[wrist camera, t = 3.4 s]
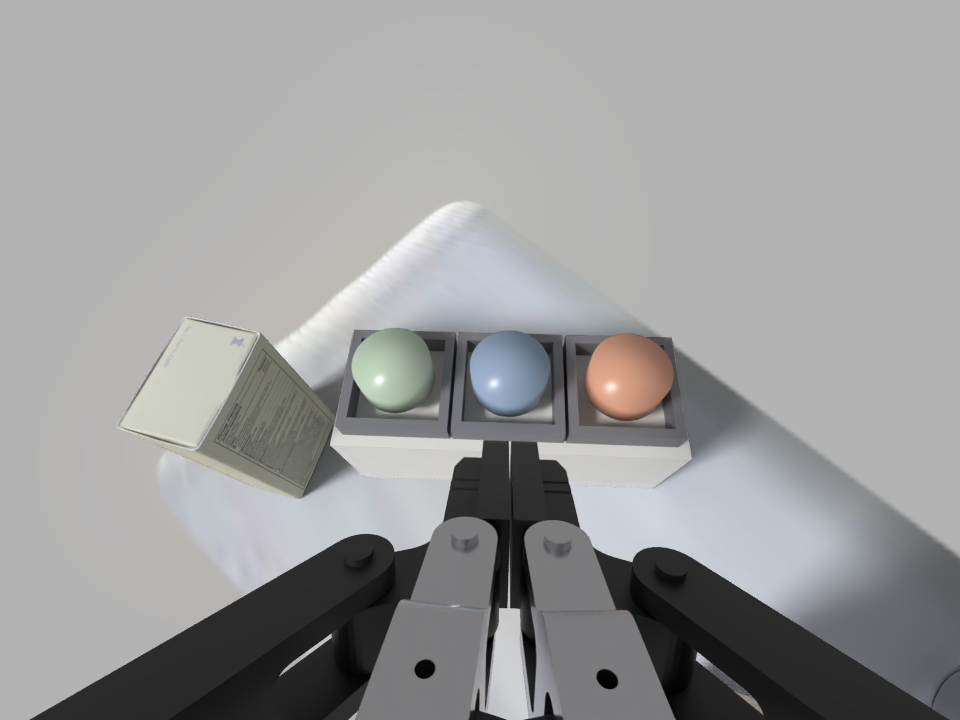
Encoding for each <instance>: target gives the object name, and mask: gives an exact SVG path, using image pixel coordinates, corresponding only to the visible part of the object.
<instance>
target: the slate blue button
mask: <svg viewBox="0 0 960 720" xmlns="http://www.w3.org/2000/svg"><path fill="white" fill-rule="evenodd" d="M549 373H550V361H549V357H548V355H547V352H546V351H545V349H544V347H543V346H542V345H541V344H540V343H539V342H538V341H537V340H536V339H534V338H533V337H531V336H529V335H527V334H525V333H522V332H517V331H502V332H497V333H494V334H492V335H490V336H488V337H486V338H485V339H483V340H482V341H481V342H480V343H479V344H478V345H477V346H476V348H475V349H474V351H473V353H472V356H471V359H470V374H471V382H472V389H473V393H474V395H475V397H476V399H477V401H478V402H479V403H480V405H481V406H482V407H484V408H485V409H486V410H488V411H489V412H491V413H493V414H495V415H498V416H503V417H516V416H521V415H524V414H526V413H528V412H530V411H532V410H533V409H534V408H535V407H536V406H537V405H538V404H539V403H540V402H541V400H542V398H543V397H544V394H545V391H546V386H547V382H548V377H549Z"/></svg>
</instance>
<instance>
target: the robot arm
mask: <svg viewBox="0 0 960 720" xmlns="http://www.w3.org/2000/svg"><path fill="white" fill-rule="evenodd" d="M509 547H510V608H516V609H520V619H521V622H520V649H521V657H522V666H523V674H524V682H525V691H526V699H527V708H528V716H529V719H525V720H960V671H958V672H956V673H954V674H953V675H952V676H951V677H950V678H949V679H948V680H947V681H946V682H945V683H944V684H943V685H942V686H941V688H940V690H939V692H938V694H937V696H936V698H935V700H934V703H933V708H932V709H931V708H930V707H928V706H927V705H925V704H923V703H922V702H920V701H919V700H917V699H915V698H914V697H912V696H911V695H909V694H908V693H906V692H904V691H903V690H901V689H900V688H898V687H896V686H895V685H893V684H892V683H890V682H888V681H887V680H885V679H884V678H882V677H880V676H879V675H877V674H876V673H874V672H872V671H871V670H869V669H868V668H866V667H865V666H863V665H861V664H860V663H858V662H857V661H855V660H853V659H852V658H850V657H849V656H847V655H845V654H844V653H842V652H841V651H839V650H837V649H836V648H834V647H833V646H831V645H829V644H828V643H826V642H825V641H823V640H822V639H820V638H818V637H817V636H815V635H814V634H812V633H810V632H809V631H807V630H806V629H804V628H802V627H801V626H799V625H798V624H796V623H794V622H793V621H791V620H790V619H788V618H786V617H785V616H783V615H782V614H780V613H779V612H777V611H775V610H774V609H772V608H771V607H769V606H767V605H766V604H764V603H763V602H761V601H759V600H758V599H756V598H755V597H753V596H751V595H750V594H748V593H747V592H745V591H743V590H742V589H740V588H739V587H737V586H736V585H734V584H732V583H731V582H729V581H728V580H726V579H724V578H723V577H721V576H720V575H718V574H716V573H715V572H713V571H712V570H710V569H708V568H707V567H705V566H704V565H702V564H700V563H699V562H697V561H696V560H694V559H693V558H691V557H689V556H687V555H686V554H683V553H681V552H679V551H676V550H673V549H668V548H662V547H652V548H647V549H643V550H641V551H640V552H638V553H637V554H636V555H635V557H634V559H633V562H629V561H625V560H622V559H618V558H615V557H612V556H609V555H606V554H604V553H602V552H600V551H598V550H596V549H595V548H594V547H593V546H592V544H591V541H590V539H589V537H588V536H587V534H586V533H585V532H584V531H583V530H581V529H580V526H579V522H578V518H577V513H576V509H575V505H574V501H573V497H572V494H571V488H570V484H569V480H568V476H567V471H566V470H565V469H564V468H563V467H562V466H561V464H560V463H559V462H558V461H557V460H540V459H539V452H538V444H537V442H530V441H511V455H510V473H509V441H496V440H483V449H482V458H478V457H463V458H462V459H461V460H460V461H459V462H458V463H457V464H456V465H455V466H454V471H453V476H452V481H451V486H450V491H449V496H448V501H447V506H446V511H445V516H444V521H443V523H441V524H440V525H439V526H438V527H437V528H436V529H435V530H434V532H433V535H432V538H431V540H430V541H429V542H428V543H426V544H424V545H422V546H419V547H416V548H412V549H407V550H402V551H397V552H394V548H393V545H392V544H391V543H390V542H389V541H388V540H387V539H385V538H383V537H381V536H378V535H373V534H360V535H355V536H351V537H348V538H345V539H343V540H341V541H339V542H337V543H336V544H334V545H332V546H330V547H329V548H327V549H325V550H323V551H322V552H320V553H318V554H317V555H315V556H313V557H311V558H310V559H308V560H306V561H304V562H303V563H301V564H299V565H297V566H296V567H294V568H292V569H290V570H289V571H287V572H285V573H284V574H282V575H280V576H278V577H277V578H275V579H273V580H271V581H270V582H268V583H266V584H264V585H263V586H261V587H259V588H258V589H256V590H254V591H252V592H251V593H249V594H247V595H245V596H244V597H242V598H240V599H238V600H237V601H235V602H233V603H232V604H230V605H228V606H226V607H225V608H223V609H221V610H219V611H218V612H216V613H214V614H212V615H211V616H209V617H208V618H205V619H204V620H202V621H200V622H199V623H197V624H195V625H194V626H192V627H190V628H188V629H186V630H185V631H183V632H181V633H180V634H178V635H176V636H174V637H173V638H171V639H169V640H167V641H166V642H164V643H162V644H160V645H159V646H157V647H155V648H154V649H152V650H150V651H148V652H147V653H145V654H143V655H141V656H140V657H138V658H136V659H134V660H133V661H131V662H129V663H128V664H126V665H124V666H122V667H121V668H119V669H117V670H115V671H114V672H112V673H110V674H109V675H107V676H105V677H103V678H102V679H100V680H98V681H96V682H94V683H93V684H91V685H89V686H87V687H86V688H84V689H82V690H81V691H79V692H77V693H76V694H74V695H72V696H70V697H68V698H67V699H65V700H63V701H61V702H60V703H58V704H56V705H55V706H53V707H51V708H49V709H48V710H46V711H44V712H42V713H41V714H39V715H37V716H35V717H34V718H32V719H30V720H348V719H349V718H350V717H351V716H353V715H354V714H355V713H356V712H357V711H358V713H357V716H356V718H355V720H506V719H503V718H500V717H497V716H494V715H491V714H488V713H487V711H488V702H489V693H490V684H491V675H492V666H493V656H494V647H495V632H496V630H497V627H498V623H499V608H507V603H508V573H509ZM331 633H332V638H331V639H329V640H328V641H327V642H325V643H324V644H323V645H321V646H320V647H319V648H317V649H316V650H314V651H313V652H312V653H310V654H309V655H308V656H306V657H305V658H304V659H302V660H301V661H300V662H298V663H297V664H296V665H294V666H293V667H291V668H290V669H289V670H287V671H286V672H285V673H283V674H282V675H281V676H279V675H280V674H281V673H282V671H283V670H284V669H285V668H286V667H287V666H288V665H289V664H290V663H292V662H293V661H294V660H296V659H297V658H298V657H300V656H301V655H302V654H304V653H305V652H307V651H308V650H309V649H311V648H312V647H313V646H315V645H316V644H317V643H319V642H320V641H322V640H323V639H324V638H326V637H327V636H328V635H330V634H331ZM697 652H698V653H700V654H701V655H702V656H703V657H705V658H706V659H707V660H708V661H710V662H711V663H712V664H714V665H715V666H716V667H717V668H719V669H720V670H721V671H722V672H724V673H725V674H726V675H727V676H729V677H730V678H731V679H733V680H734V681H735V682H736V683H738V684H739V685H740V686H741V687H743V688H744V689H745V690H746V691H747V692H749V693H750V694H751V696H752V697H753V698H754V699H755V700H756V702H757V703H758V705H759V706H760V708H761V710H762V712H763V714H762V713H760V712H759V711H758V710H757V709H755V708H754V707H753V706H752V705H750V704H749V703H748V702H747V701H745V700H744V699H743V698H742V697H741V696H739V695H738V694H737V693H736V692H734V691H733V690H732V689H731V688H729V687H728V686H727V685H726V684H724V683H723V682H722V681H721V680H719V679H718V678H717V677H716V676H714V675H713V674H712V673H711V672H710V671H708V670H707V669H706V668H705V667H703V666H702V665H701V664H700V663H698V662H697V661H696V656H697Z"/></svg>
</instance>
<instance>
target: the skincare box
mask: <svg viewBox="0 0 960 720" xmlns="http://www.w3.org/2000/svg"><path fill="white" fill-rule="evenodd" d="M335 418H336V416H335V415H334V413H333V412H332V411H331V410H330V409H329V408H328V407H327V406H326V405H325V403H324V402H323V401H322V400H321V399H320V398H319V397H318V396H317V395H316V394H315V392H314V391H313V390H312V389H311V388H310V387H309V386H308V385H307V384H306V382H305V381H304V380H303V379H302V378H301V377H300V376H299V375H298V374H297V372H296V371H295V370H294V369H293V368H292V367H291V366H290V365H289V364H288V363H287V361H286V360H285V359H284V358H283V357H282V356H281V355H280V354H279V353H278V352H277V350H276V349H275V348H274V347H273V346H272V345H271V344H270V343H269V341H268V340H267V339H266V338H265V337H264V336H263V335H262V334H261V333H260V332H256V331H252V330H248V329H244V328H240V327H236V326H232V325H227V324H223V323H218V322H215V321H209V320H204V319H199V318H193V317H185V318H184V319H183V320H182V322H181V323H180V325H179V326H178V327H177V329H176V330H175V332H174V333H173V335H172V336H171V338H170V339H169V341H168V343H167V344H166V346H165V347H164V349H163V351H162V352H161V353H160V355H159V356H158V358H157V360H156V361H155V363H154V364H153V366H152V368H151V369H150V371H149V373H148V374H147V375H146V377H145V379H144V380H143V382H142V384H141V386H140V387H139V388H138V390H137V392H136V393H135V395H134V397H133V399H132V400H131V402H130V403H129V405H128V406H127V408H126V410H125V411H124V413H123V415H122V416H121V418H120V420H119V421H118V423H117V425H116V426H117V428H118V429H120V430H122V431H125V432H128V433H130V434H132V435H134V436H137V437H139V438H142V439H144V440H146V441H148V442H151V443H153V444H155V445H158V446H160V447H162V448H164V449H167V450H169V451H171V452H174V453H176V454H179V455H181V456H183V457H185V458H188V459H190V460H193V461H195V462H197V463H200V464H202V465H204V466H206V467H209V468H211V469H213V470H216V471H218V472H220V473H222V474H225V475H227V476H229V477H231V478H234V479H236V480H238V481H241V482H243V483H245V484H248V485H251V486H255V487H258V488H261V489H264V490H267V491H271V492H274V493H278V494H281V495H284V496H288V497H292V498H295V499H300V498H301V497H302V496H303V493H304V491H305V489H306V487H307V484H308V482H309V480H310V478H311V476H312V473H313V471H314V469H315V467H316V464H317V462H318V459H319V457H320V455H321V452H322V450H323V448H324V446H325V443H326V441H327V439H328V436H329V434H330V431H331V429H332V426H333V424H334V421H335Z"/></svg>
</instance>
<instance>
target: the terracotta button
mask: <svg viewBox="0 0 960 720" xmlns="http://www.w3.org/2000/svg"><path fill="white" fill-rule="evenodd" d="M673 379H674V371H673V366H672V363H671V360H670V359H669V357H668V355H667V354H666V352H665V351H664V350H663V349H662V348H661V347H660V346H659V345H658V344H656V343H655V342H654V341H652V340H650V339H648V338H646V337H643V336H640V335H635V334H618V335H614V336H611V337H609V338H607V339H605V340H604V341H603V342H601V343H600V344H599V345H598V346H597V348H596V349H595V351H594V353H593V355H592V358H591V360H590V363H589V366H588V368H587V371H586V374H585V379H584V386H585V391H586V394H587V397H588V399H589V400H590V402H591V403H592V405H593V406H594V407H595V408H596V409H597V410H598V411H600V412H601V413H602V414H604V415H606V416H608V417H610V418H613V419H615V420H620V421H634V420H639V419H642V418H644V417H646V416H647V415H649V414H650V413H651V412H652V411H653V410H654V409H655V408H656V407H657V406H658V404H659V403H660V402H661V401H662V399H663V398H664V397H665V396H666V394H667V393H668V392H669V390H670V389H671V386H672V384H673Z"/></svg>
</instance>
